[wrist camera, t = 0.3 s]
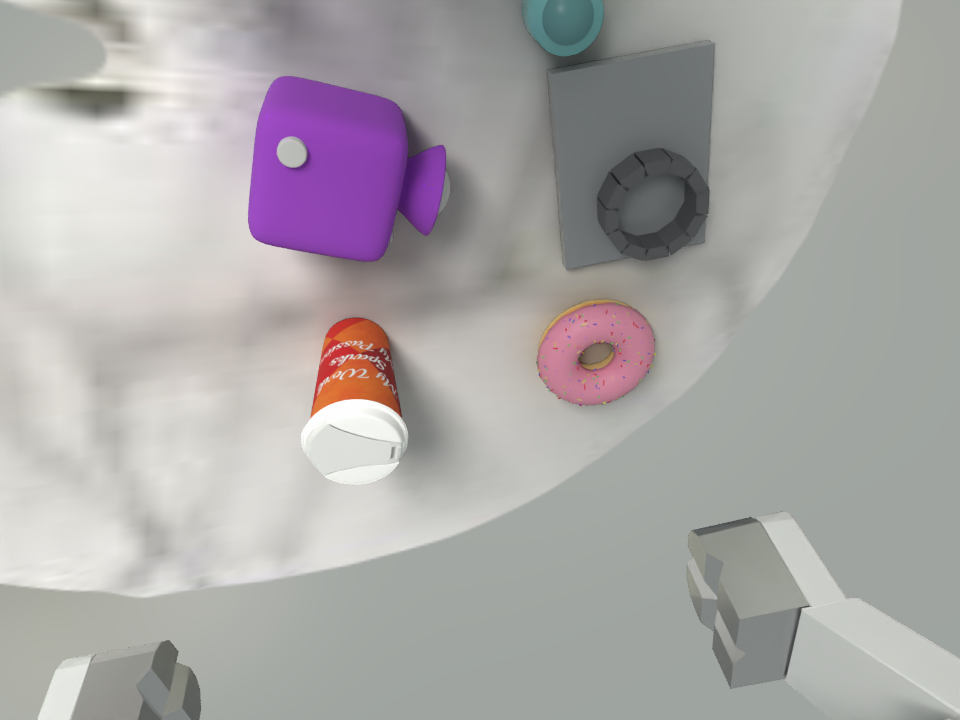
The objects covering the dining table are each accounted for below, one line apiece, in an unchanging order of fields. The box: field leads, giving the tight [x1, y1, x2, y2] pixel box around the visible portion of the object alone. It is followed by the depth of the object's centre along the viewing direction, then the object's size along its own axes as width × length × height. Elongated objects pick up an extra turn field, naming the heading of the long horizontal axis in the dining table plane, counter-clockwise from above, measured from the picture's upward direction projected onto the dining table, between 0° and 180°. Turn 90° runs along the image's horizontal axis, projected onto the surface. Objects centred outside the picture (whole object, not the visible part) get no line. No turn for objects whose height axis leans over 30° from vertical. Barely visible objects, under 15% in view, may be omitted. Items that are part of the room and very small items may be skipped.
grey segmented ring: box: [597, 148, 709, 261], centre depth 56 cm, size 8×8×2 cm
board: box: [547, 40, 715, 270], centre depth 56 cm, size 16×12×1 cm
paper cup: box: [301, 318, 408, 485], centre depth 57 cm, size 8×8×14 cm
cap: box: [522, 0, 604, 56], centre depth 48 cm, size 5×5×4 cm
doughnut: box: [536, 299, 656, 406], centre depth 65 cm, size 11×11×4 cm
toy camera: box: [248, 76, 450, 261], centre depth 49 cm, size 11×14×10 cm
